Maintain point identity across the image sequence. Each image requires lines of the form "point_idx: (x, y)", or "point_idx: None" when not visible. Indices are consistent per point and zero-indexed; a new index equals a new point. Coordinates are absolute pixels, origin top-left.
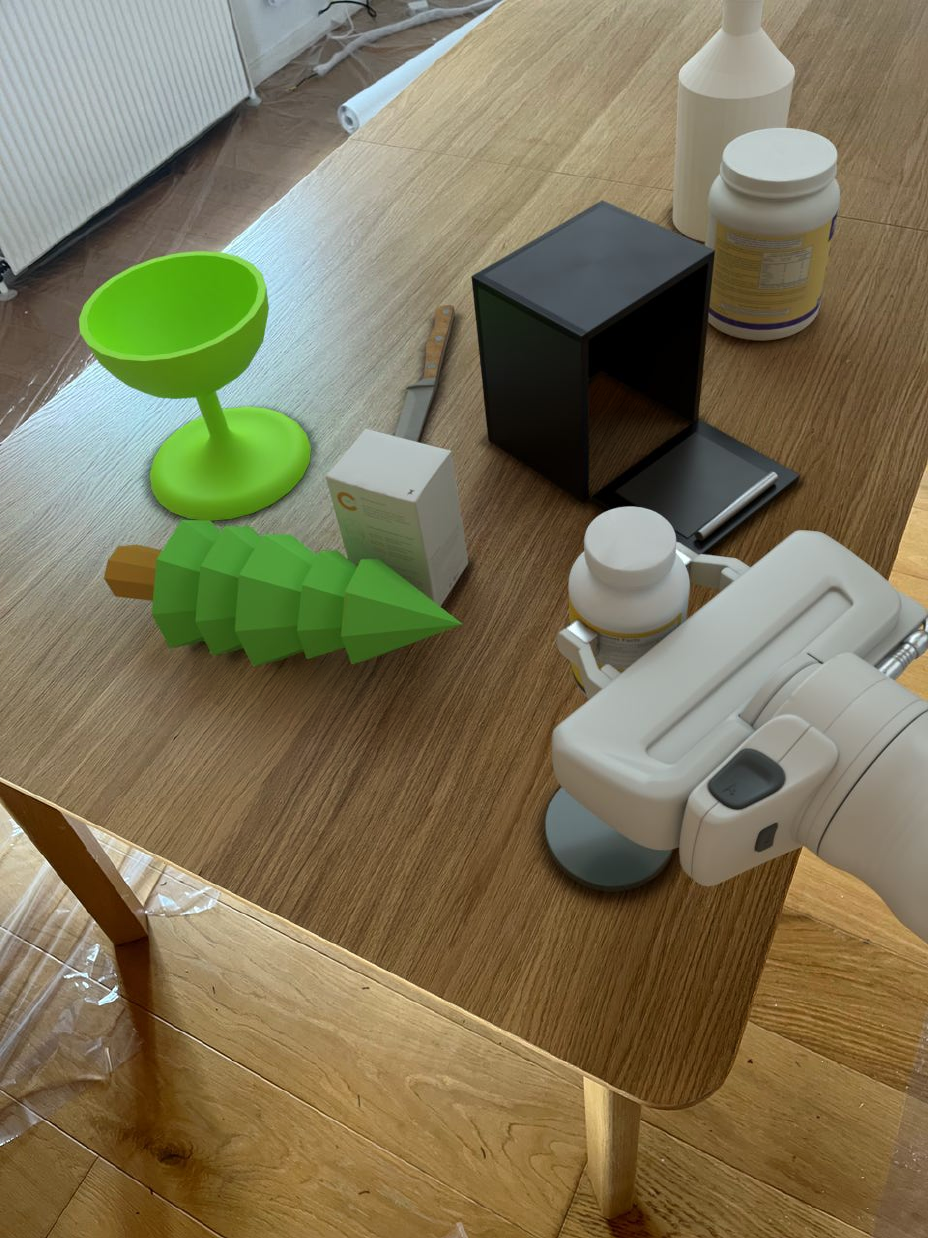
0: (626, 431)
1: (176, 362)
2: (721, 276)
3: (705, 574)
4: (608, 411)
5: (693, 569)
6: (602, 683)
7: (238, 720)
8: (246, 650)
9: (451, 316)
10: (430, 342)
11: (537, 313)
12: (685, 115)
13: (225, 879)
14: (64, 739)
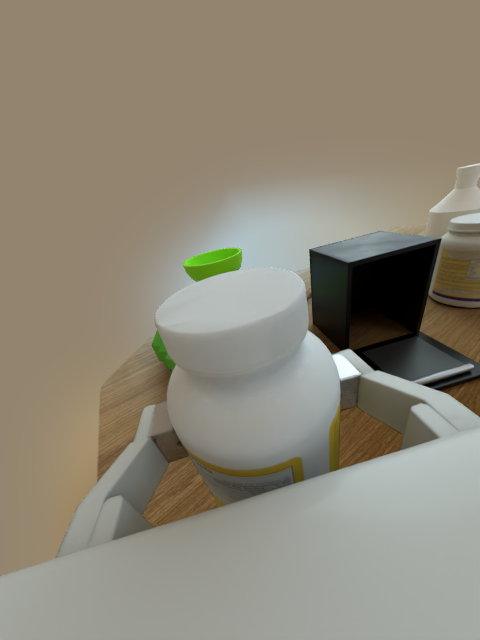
0: (376, 330)
1: (198, 268)
2: (442, 274)
3: (381, 403)
4: (370, 322)
5: (362, 389)
6: (71, 540)
7: (163, 396)
8: (170, 368)
9: None
10: (306, 292)
11: (330, 257)
12: (430, 223)
13: (98, 467)
14: (120, 380)
